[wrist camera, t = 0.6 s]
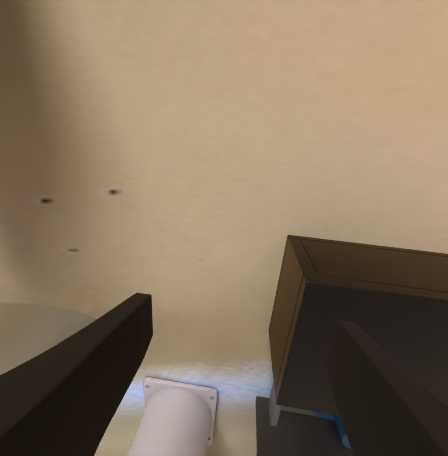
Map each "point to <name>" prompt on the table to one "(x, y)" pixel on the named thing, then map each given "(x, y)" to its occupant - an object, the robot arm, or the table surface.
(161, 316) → the table surface
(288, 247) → the black drawer box
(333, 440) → the drawer
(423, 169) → the table surface
